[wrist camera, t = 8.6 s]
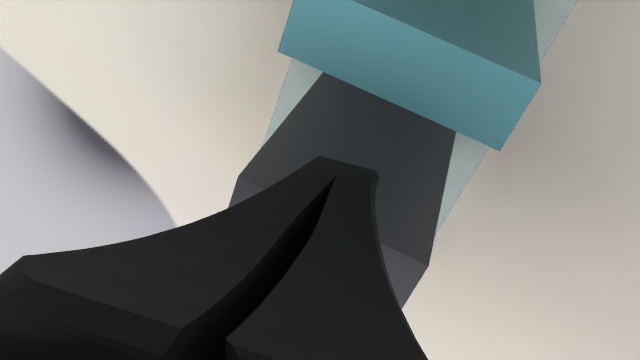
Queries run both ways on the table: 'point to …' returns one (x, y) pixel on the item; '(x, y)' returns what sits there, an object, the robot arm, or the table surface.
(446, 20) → the teal domino
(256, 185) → the black domino
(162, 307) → the robot arm
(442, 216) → the sage board
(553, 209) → the table surface
